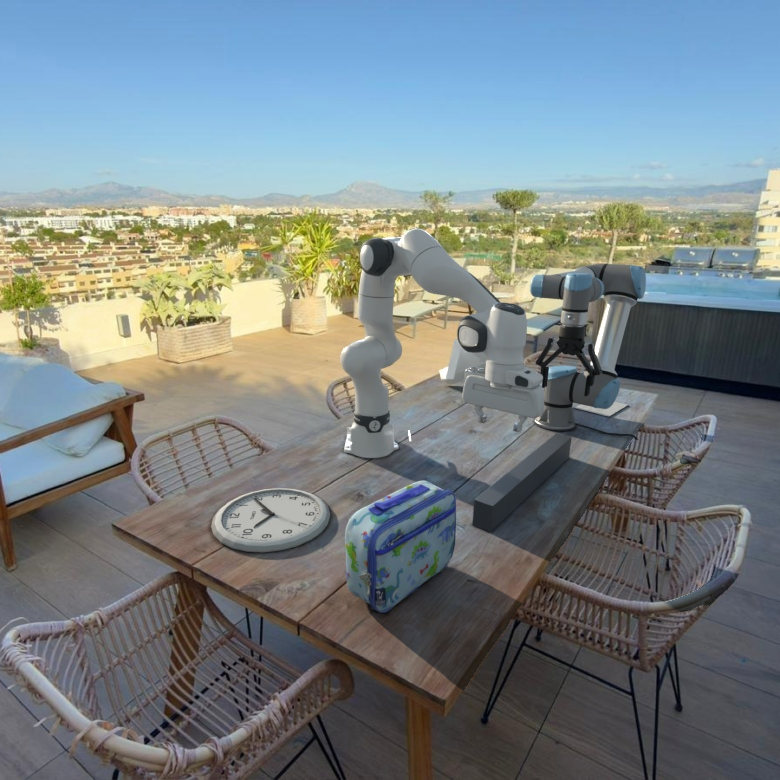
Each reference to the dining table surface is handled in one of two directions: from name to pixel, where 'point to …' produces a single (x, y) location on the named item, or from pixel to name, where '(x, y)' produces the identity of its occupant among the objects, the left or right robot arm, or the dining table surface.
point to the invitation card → (605, 412)
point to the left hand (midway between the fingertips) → (499, 426)
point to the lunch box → (399, 543)
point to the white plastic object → (461, 364)
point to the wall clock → (270, 520)
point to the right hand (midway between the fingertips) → (564, 391)
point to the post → (519, 482)
